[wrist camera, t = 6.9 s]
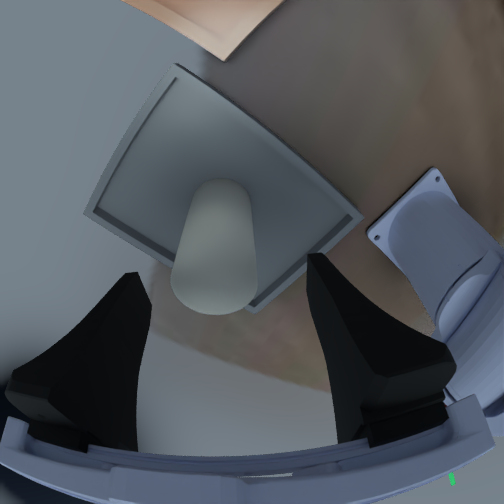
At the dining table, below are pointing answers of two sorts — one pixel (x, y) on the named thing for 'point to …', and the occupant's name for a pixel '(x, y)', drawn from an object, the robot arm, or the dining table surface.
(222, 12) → the shallow square box
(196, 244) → the peg
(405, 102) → the dining table surface
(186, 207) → the tray
